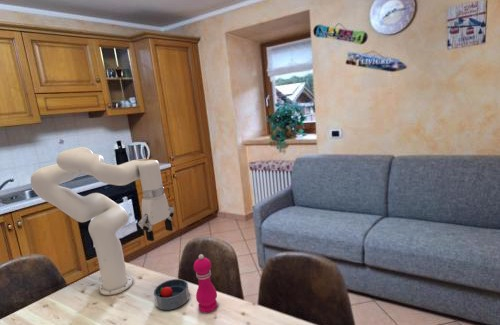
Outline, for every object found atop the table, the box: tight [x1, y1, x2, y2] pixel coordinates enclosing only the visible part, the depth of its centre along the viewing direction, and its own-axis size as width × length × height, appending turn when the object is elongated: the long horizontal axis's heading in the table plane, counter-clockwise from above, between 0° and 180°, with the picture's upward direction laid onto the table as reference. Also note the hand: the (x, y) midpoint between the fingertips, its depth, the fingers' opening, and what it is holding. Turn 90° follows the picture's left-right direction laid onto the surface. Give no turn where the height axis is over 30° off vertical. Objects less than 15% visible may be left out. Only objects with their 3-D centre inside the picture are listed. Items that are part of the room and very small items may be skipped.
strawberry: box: [159, 287, 173, 298], centre depth 117 cm, size 4×4×5 cm
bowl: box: [153, 278, 190, 311], centre depth 116 cm, size 12×12×5 cm
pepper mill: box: [193, 253, 218, 314], centre depth 109 cm, size 7×7×20 cm
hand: (160, 235), depth 122 cm, fingers open, 9 cm apart
